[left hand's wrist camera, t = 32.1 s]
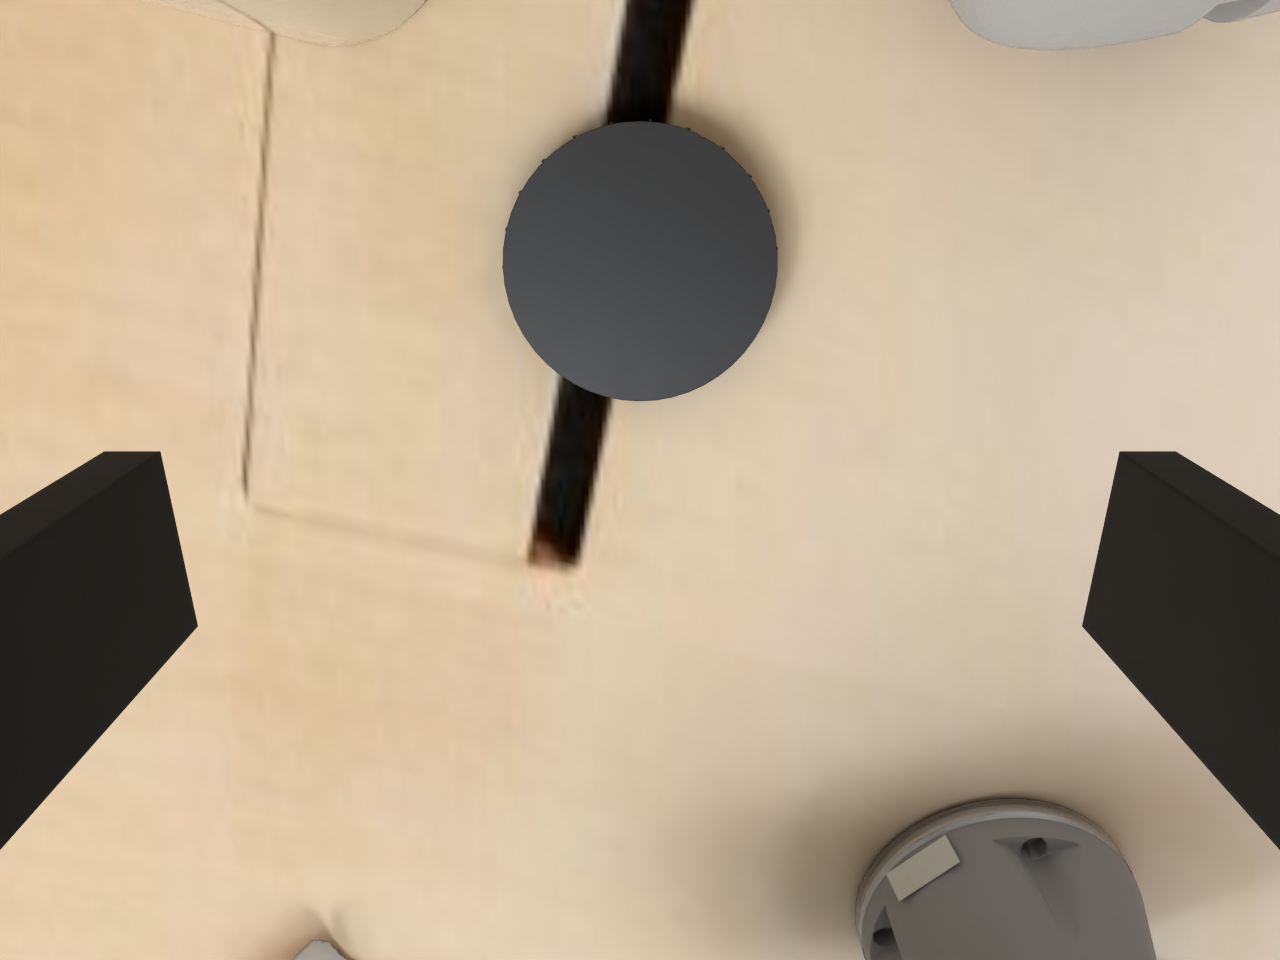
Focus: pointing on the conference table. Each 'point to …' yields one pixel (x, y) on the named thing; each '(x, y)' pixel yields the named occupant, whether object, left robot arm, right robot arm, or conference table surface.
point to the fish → (319, 951)
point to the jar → (307, 17)
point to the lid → (640, 261)
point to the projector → (1095, 19)
